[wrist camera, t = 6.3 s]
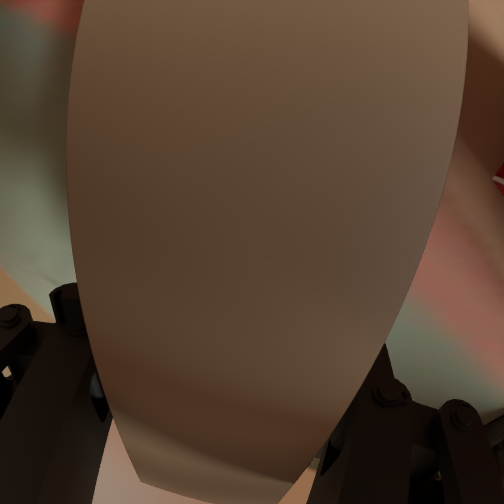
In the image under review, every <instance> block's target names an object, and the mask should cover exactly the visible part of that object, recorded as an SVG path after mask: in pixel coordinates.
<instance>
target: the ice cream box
mask: <svg viewBox="0 0 504 504" xmlns="http://www.w3.org/2000/svg"><path fill="white" fill-rule="evenodd" d="M492 180H493V181H494V183H495V184H496V186H497V187H498V188H499V190H500V191H501V193H502V194H503V196H504V163H503V165H502V166H501V168H500V169H499V170H498V172H497V173H496V174H495V176H494V177H493V178H492Z"/></svg>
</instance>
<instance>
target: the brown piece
mask: <svg viewBox="0 0 504 504" xmlns="http://www.w3.org/2000/svg"><path fill="white" fill-rule="evenodd" d="M467 47H468V0H84V4H83V8H82V13H81V17H80V22H79V27H78V32H77V37H76V43H75V49H74V55H73V62H72V70H71V78H70V87H69V98H68V112H67V134H66V177H67V200H68V214H69V225H70V235H71V244H72V252H73V260H74V266H75V273H76V279H77V285H78V291H79V296H80V301H81V306H82V311H83V316H84V320H85V325H86V329H87V333H88V337H89V341H90V345H91V349H92V353H93V357H94V360H95V364H96V367H97V371H98V374H99V377H100V380H101V384H102V387H103V390H104V393H105V396H106V399H107V402H108V405H109V408H110V410H111V413H112V416H113V419H114V421H115V424H116V426H117V429H118V431H119V434H120V436H121V439H122V441H123V444H124V446H125V448H126V451H127V453H128V455H129V458H130V460H131V462H132V464H133V467H134V469H135V471H136V473H137V475H138V477H139V479H140V481H141V482H143V483H146V484H149V485H151V486H154V487H157V488H160V489H163V490H166V491H169V492H172V493H176V494H179V495H183V496H186V497H190V498H194V499H197V500H201V501H205V502H210V503H214V504H278V503H279V502H280V500H281V499H282V498H283V497H284V496H285V494H286V493H287V492H288V491H289V490H290V488H291V487H292V486H293V485H294V483H295V482H296V481H297V480H298V478H299V477H300V476H301V474H302V473H303V472H304V471H305V469H306V468H307V467H308V465H309V464H310V463H311V461H312V460H313V459H314V457H315V456H316V455H317V453H318V452H319V450H320V449H321V448H322V446H323V445H324V443H325V442H326V440H327V439H328V437H329V436H330V435H331V433H332V432H333V430H334V429H335V427H336V426H337V424H338V422H339V421H340V419H341V418H342V416H343V415H344V413H345V411H346V410H347V408H348V407H349V405H350V403H351V402H352V400H353V398H354V397H355V395H356V393H357V392H358V390H359V388H360V387H361V385H362V383H363V381H364V380H365V378H366V376H367V374H368V372H369V371H370V369H371V367H372V365H373V363H374V361H375V360H376V358H377V356H378V354H379V352H380V350H381V348H382V346H383V344H384V342H385V340H386V338H387V336H388V334H389V332H390V330H391V328H392V326H393V324H394V321H395V319H396V317H397V315H398V313H399V311H400V308H401V306H402V304H403V302H404V299H405V297H406V295H407V292H408V290H409V288H410V285H411V283H412V280H413V278H414V275H415V273H416V270H417V268H418V265H419V262H420V260H421V257H422V254H423V252H424V249H425V246H426V243H427V240H428V238H429V235H430V232H431V229H432V226H433V223H434V219H435V216H436V213H437V210H438V206H439V203H440V200H441V196H442V193H443V189H444V185H445V182H446V178H447V174H448V170H449V166H450V161H451V157H452V153H453V148H454V143H455V139H456V134H457V128H458V123H459V117H460V111H461V104H462V98H463V90H464V82H465V73H466V62H467Z"/></svg>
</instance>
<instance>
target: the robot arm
mask: <svg viewBox="0 0 504 504" xmlns="http://www.w3.org/2000/svg"><path fill="white" fill-rule="evenodd" d="M49 297H50V301H51V305H52V308H53V312H54V316H55V319H56V323H47V322H39V321H33V319H32V316H31V313H30V310H29V309H28V308H27V307H26V306H24V305H21V304H10V305H7V306H4V307H2V308H0V504H92V500H93V495H94V490H95V486H96V481H97V477H98V473H99V468H100V464H101V460H102V456H103V452H104V448H105V444H106V441H107V436H108V433H109V429H110V426H111V422H112V418H113V416H112V413H111V410H110V408H109V405H108V402H107V399H106V396H105V393H104V390H103V387H102V384H101V380H100V377H99V374H98V371H97V367H96V364H95V360H94V357H93V353H92V349H91V345H90V341H89V337H88V333H87V329H86V325H85V320H84V316H83V311H82V306H81V301H80V296H79V291H78V285H77V283H69V284H64V285H62V286H60V287H57V288H55V289H54V290H53V291H52V292H51V293H50V294H49ZM7 366H8V368H9V369H10V372H11V375H10V376H8V377H4V375H3V373H2V371H3V370H4V369H5V368H6V367H7ZM320 457H321V458H320ZM316 458H320V462H319V465H318V469H317V472H316V476H315V479H314V482H313V485H312V488H311V491H310V494H309V497H308V500H307V503H306V504H504V417H502V418H500V419H498V420H496V421H495V422H493V423H491V424H489V425H488V426H486V427H484V426H483V423H482V421H481V418H480V416H479V414H478V413H477V411H476V409H474V408H473V407H472V406H471V405H470V404H469V403H467V402H465V401H463V400H458V399H452V400H449V401H447V402H446V403H445V404H443V405H442V407H441V408H440V409H439V410H437V409H434V408H431V407H428V406H425V405H422V404H419V403H417V402H414V401H412V398H411V394H410V392H409V390H408V389H407V388H406V386H405V385H404V384H402V383H401V382H400V381H399V380H397V379H395V378H394V375H393V370H392V366H391V362H390V358H389V355H388V351H387V347H386V344H385V342H384V344H383V346H382V348H381V350H380V352H379V354H378V356H377V358H376V360H375V361H374V363H373V365H372V367H371V369H370V371H369V372H368V374H367V376H366V378H365V380H364V381H363V383H362V385H361V387H360V388H359V390H358V392H357V393H356V395H355V397H354V398H353V400H352V402H351V403H350V405H349V407H348V408H347V410H346V411H345V413H344V415H343V416H342V418H341V419H340V421H339V422H338V424H337V426H336V427H335V429H334V430H333V432H332V433H331V435H330V436H329V438H328V439H327V441H326V442H325V443H324V445H323V446H322V448H321V449H320V451H319V452H318V454H317V456H316Z"/></svg>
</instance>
